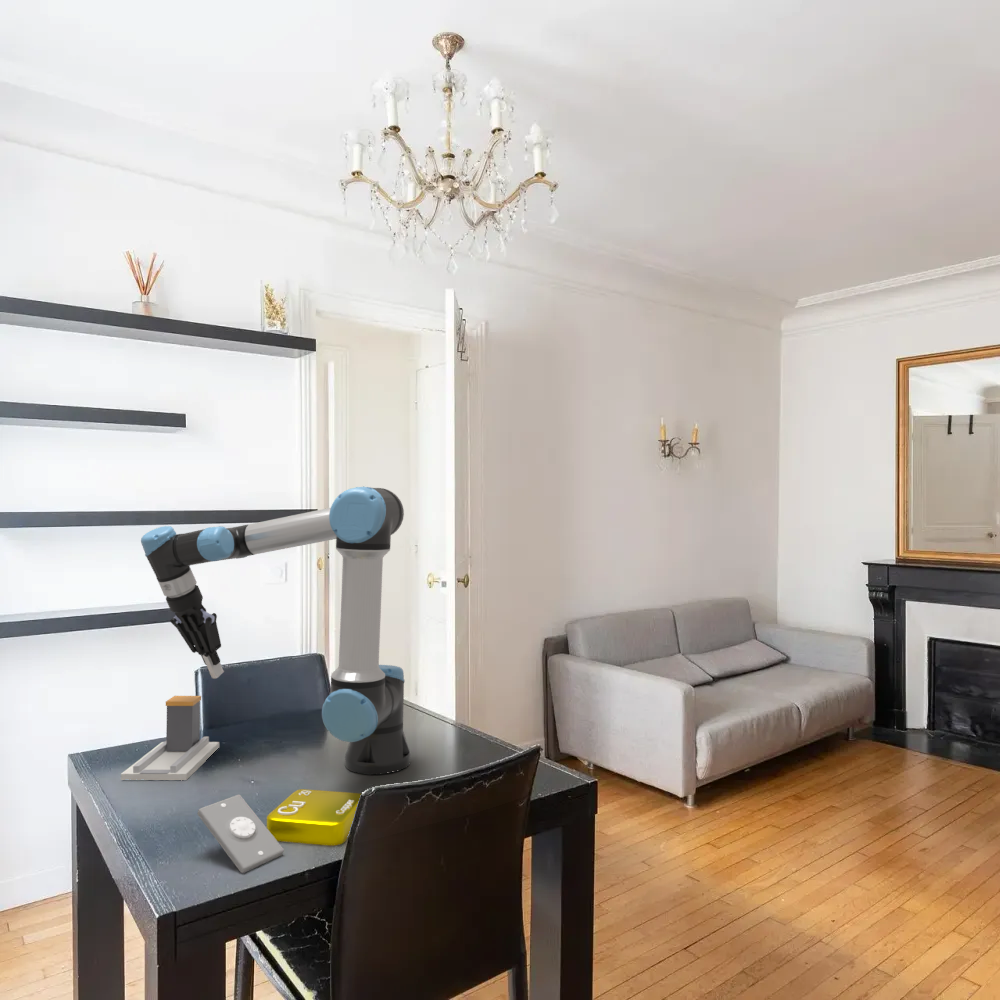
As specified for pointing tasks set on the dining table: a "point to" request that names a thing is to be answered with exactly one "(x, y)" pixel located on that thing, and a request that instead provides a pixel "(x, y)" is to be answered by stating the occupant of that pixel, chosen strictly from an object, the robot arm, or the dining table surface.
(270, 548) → the robot arm
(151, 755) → the railed base plate
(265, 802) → the dining table surface
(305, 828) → the element tile
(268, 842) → the light switch
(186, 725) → the handle
